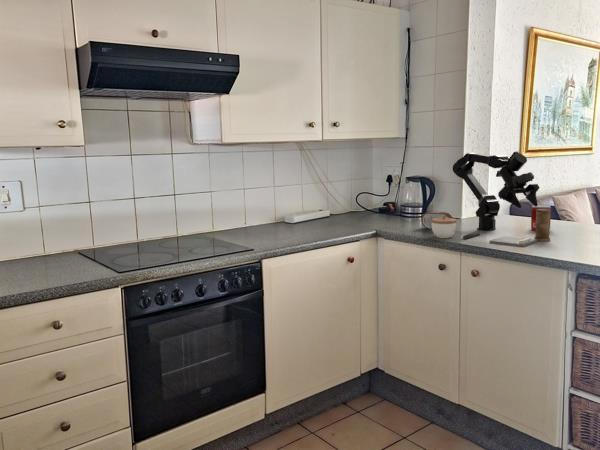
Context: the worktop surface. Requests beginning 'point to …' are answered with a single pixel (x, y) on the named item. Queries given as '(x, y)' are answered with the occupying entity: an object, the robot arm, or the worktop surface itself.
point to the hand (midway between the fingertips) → (528, 206)
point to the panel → (511, 241)
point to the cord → (471, 235)
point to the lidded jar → (443, 227)
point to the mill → (542, 225)
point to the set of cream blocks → (524, 240)
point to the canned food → (533, 214)
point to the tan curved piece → (431, 215)
